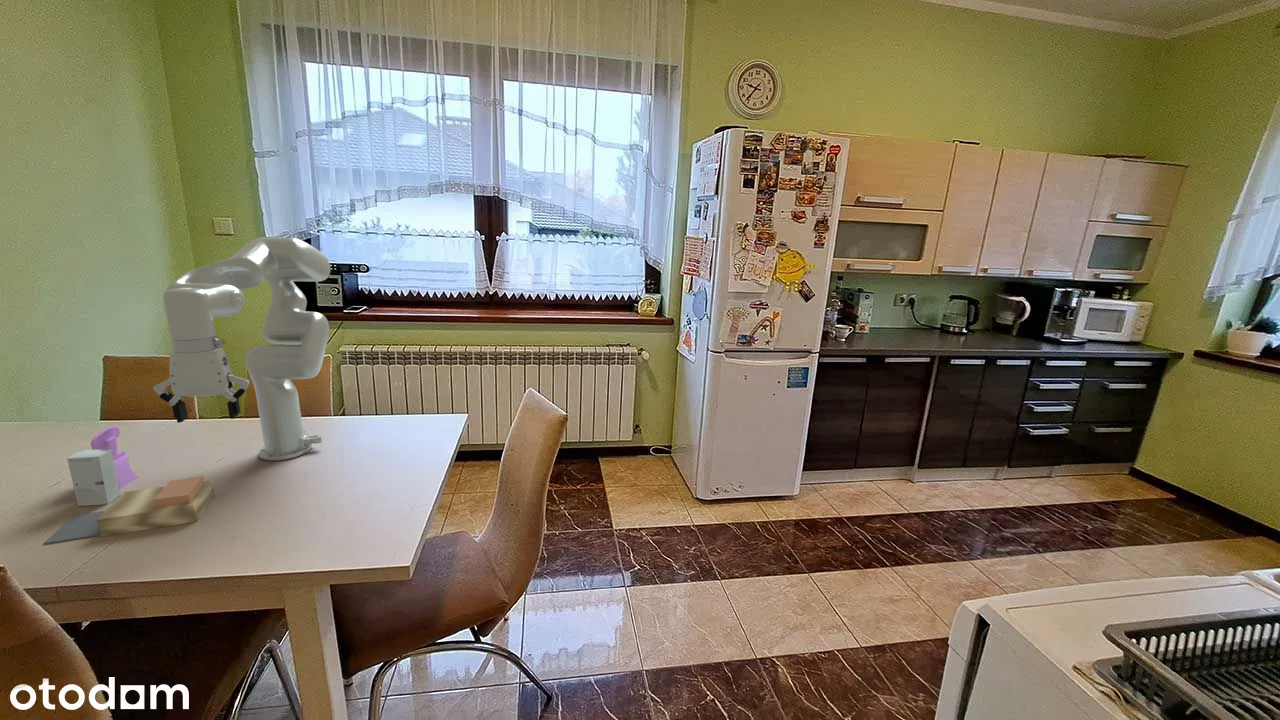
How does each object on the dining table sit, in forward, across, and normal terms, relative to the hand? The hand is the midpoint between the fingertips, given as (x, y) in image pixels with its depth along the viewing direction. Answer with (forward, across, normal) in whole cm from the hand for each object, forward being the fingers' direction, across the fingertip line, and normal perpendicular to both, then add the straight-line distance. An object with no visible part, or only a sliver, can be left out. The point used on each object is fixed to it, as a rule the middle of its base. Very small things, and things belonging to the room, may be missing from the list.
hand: (209, 418), depth 117 cm
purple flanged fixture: (+21, +30, -17) cm, 40 cm away
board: (+21, +11, +2) cm, 24 cm away
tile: (+17, +7, +2) cm, 19 cm away
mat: (+21, +23, +3) cm, 32 cm away
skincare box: (+21, +27, -8) cm, 35 cm away
